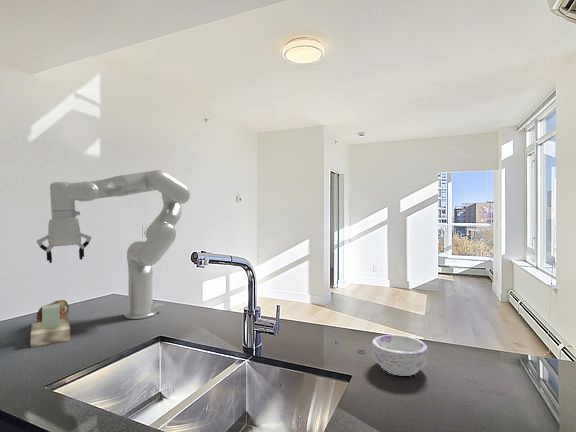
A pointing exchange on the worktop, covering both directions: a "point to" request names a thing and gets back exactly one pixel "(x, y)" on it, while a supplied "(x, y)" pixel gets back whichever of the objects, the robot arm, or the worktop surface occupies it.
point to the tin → (63, 310)
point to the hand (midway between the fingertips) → (66, 260)
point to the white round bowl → (399, 354)
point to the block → (50, 316)
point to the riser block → (50, 333)
